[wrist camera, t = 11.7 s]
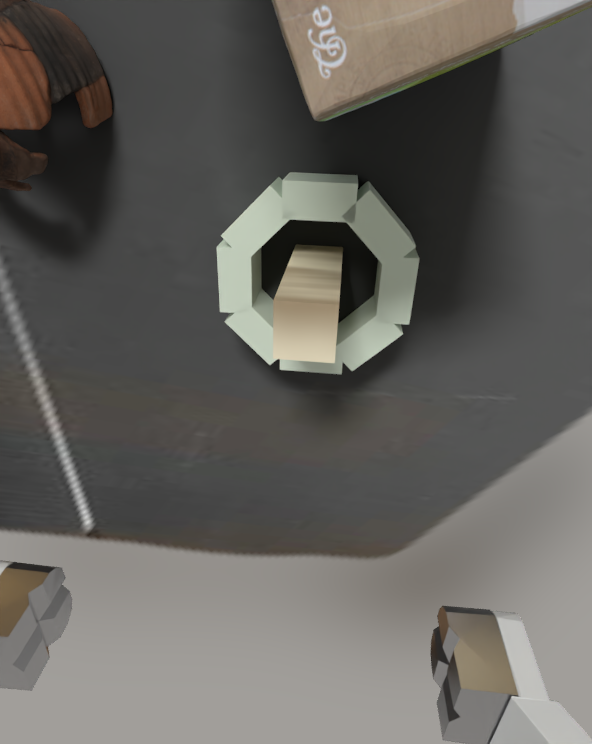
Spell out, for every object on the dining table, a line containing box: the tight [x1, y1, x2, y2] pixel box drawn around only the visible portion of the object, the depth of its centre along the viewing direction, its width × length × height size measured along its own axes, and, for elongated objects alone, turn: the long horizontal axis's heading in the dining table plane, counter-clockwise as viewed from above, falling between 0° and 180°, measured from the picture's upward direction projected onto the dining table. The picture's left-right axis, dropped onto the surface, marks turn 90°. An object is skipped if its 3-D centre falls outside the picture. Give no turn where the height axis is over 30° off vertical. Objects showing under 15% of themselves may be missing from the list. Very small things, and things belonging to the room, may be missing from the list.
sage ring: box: [217, 172, 420, 374], centre depth 30 cm, size 12×12×4 cm
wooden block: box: [273, 244, 343, 363], centre depth 27 cm, size 3×3×10 cm
